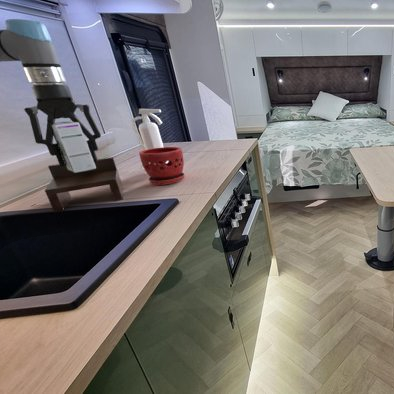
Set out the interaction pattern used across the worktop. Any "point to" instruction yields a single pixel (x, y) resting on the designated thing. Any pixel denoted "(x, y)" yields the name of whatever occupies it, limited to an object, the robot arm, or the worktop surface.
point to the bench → (82, 182)
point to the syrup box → (73, 146)
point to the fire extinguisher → (148, 130)
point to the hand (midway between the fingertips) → (79, 163)
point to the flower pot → (163, 164)
